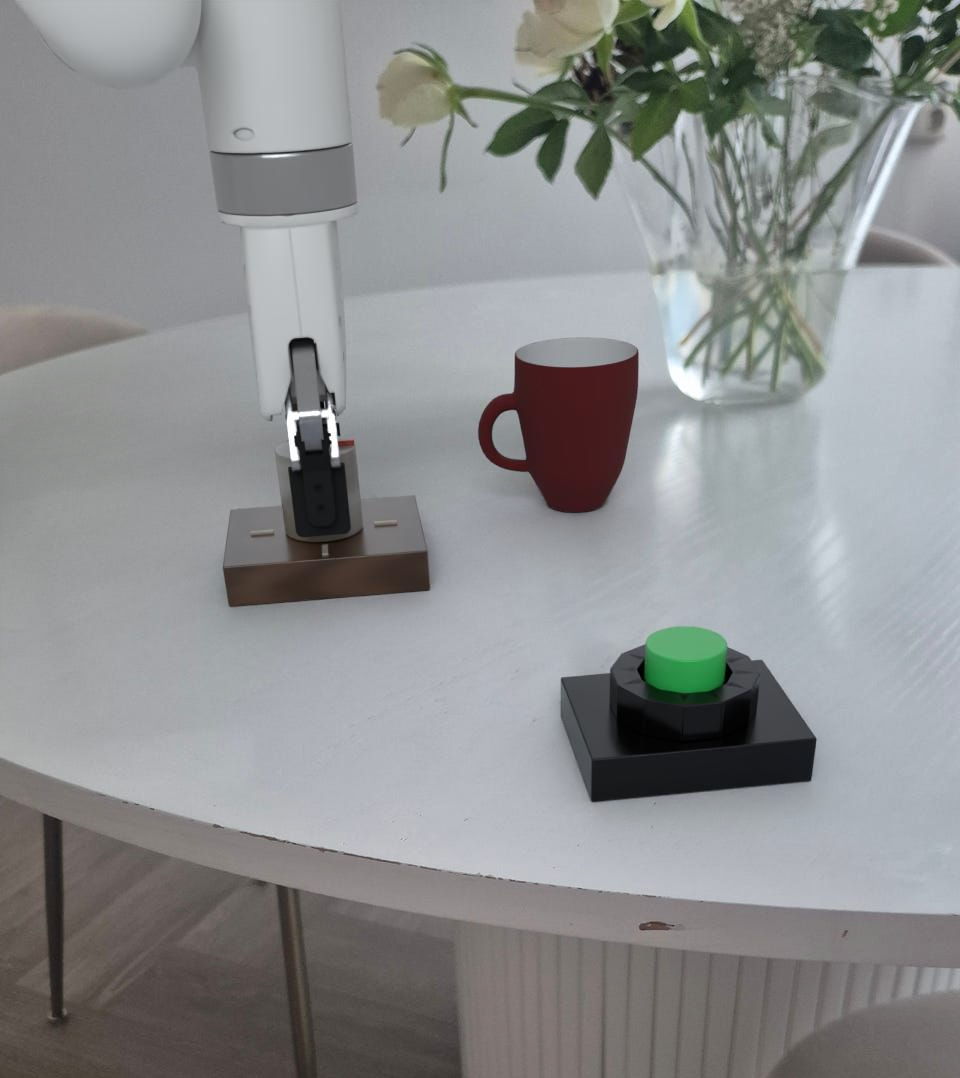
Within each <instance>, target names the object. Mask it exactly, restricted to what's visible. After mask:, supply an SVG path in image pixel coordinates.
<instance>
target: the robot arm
mask: <svg viewBox="0 0 960 1078" xmlns="http://www.w3.org/2000/svg"><path fill="white" fill-rule="evenodd" d="M13 1H14V2H15V4H16V5H17V6H18V7H19V9H20V10H21V11H22V12H23V13H24V15H25V16H26V17H27V18H28V20H29V21H30V22H31V25H32V27H33V29H34V31H35V32H36V34H37V36H38V38H39V39H40V40H41V42H42V43H43V44H44V46H45V47H46V49H48V51H49V52H50V53H51V54H52V55H53V56H55V58H56V59H58V61H59V62H60V63H62V64H63V65H65V66H66V67H67V68H68V69H70V70H72V71H73V72H75V73H76V74H78V75H80V76H81V77H83V78H85V79H86V80H88V81H91V82H93V83H95V84H98V85H101V86H104V87H107V88H111V89H117V90H138V89H142V88H148V87H150V86H153V85H156V84H158V83H160V82H162V81H164V80H165V79H167V78H169V76H171V75H172V74H173V73H175V72H176V71H177V70H180V69H184V68H191V67H195V70H196V72H197V76H198V83H199V90H200V97H201V104H202V112H203V118H204V125H205V132H206V140H207V147H208V150H209V152H208V153H209V161H210V168H211V174H212V182H213V188H214V196H215V201H216V209H217V217H218V222H219V223H221V224H224V225H226V226H233V227H239V237H240V241H239V242H240V253H241V254H240V255H241V267H242V277H243V286H244V295H245V303H246V311H247V319H248V326H249V335H250V342H251V349H252V350H251V351H252V356H253V365H254V373H255V381H256V389H257V398H258V407H259V415H260V417H261V418H262V419H264V420H265V421H267V422H269V423H270V422H273V421H274V420H273V419H274V416H280V415H281V416H282V414H283V411H284V410H285V416H284V418H285V422H286V428H287V429H286V430H287V437H288V440H289V448H290V457H291V465H292V467H288V473H289V481H290V489H291V496H292V504H293V512H294V520H295V528H296V533H297V535H298V536H300V537H312V536H324V535H336V534H346V533H348V532H349V531H350V529H351V523H350V513H349V503H348V493H347V483H346V473H345V464H344V463H340V457H339V447H338V438H337V436H341V427H340V422H337V417H339V416H340V415H341V414H343V413H344V411H345V410H346V409H347V340H346V339H347V336H346V319H345V302H344V301H345V300H344V288H343V274H342V264H341V262H342V261H341V253H340V239H339V229H338V227H339V226H338V221H340V220H345V219H348V218H351V217H353V216H355V215H357V214H359V201H358V192H357V181H356V180H357V179H356V167H355V154H354V146H353V145H354V144H353V133H352V131H353V130H352V129H353V128H352V120H351V108H350V97H349V96H350V95H349V84H348V76H347V75H348V74H347V63H346V51H345V39H344V27H343V26H344V25H343V15H342V2H341V0H13ZM329 448H330V455H329ZM330 461H331V464H330Z"/></svg>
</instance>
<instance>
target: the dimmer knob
mask: <svg viewBox="0 0 960 1078" xmlns="http://www.w3.org/2000/svg"><path fill="white" fill-rule="evenodd" d="M337 438H338V447H339V457H340V463H344V464H345V473H346V483H347V493H348V503H349V513H350V523H351V529H350V531H349V532H348V533H346V534H336V535H324V536H312V537H300V536H298V535H297V533H296V528H295V520H294V512H293V504H292V496H291V489H290V481H289V473H288V467H292V465H291V457H290V448H289V439H288V440H285V441H283V442H281V443H279V444H277V446H275V448H274V456H275V463H276V472H277V479H278V480H277V481H278V487H279V494H280V502H281V506H282V511H283V518H284V526H285V532H286V534H287V535H288V536H289V537H291V538H293V539H296V540H300V541H307V542H326V541H334V540H339V539H343V538H346V537H349V536H352V535H354V534H356V533H357V532H359V531H360V530H361V529H362V527H363V520H362V509H361V491H360V490H361V489H360V479H359V470H358V469H359V467H358V458H357V448H356V447H357V445H356V442H355V437H346V436H341V435H340V436H337ZM329 455H330V448H329ZM330 464H331V461H330Z"/></svg>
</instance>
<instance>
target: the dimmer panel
mask: <svg viewBox="0 0 960 1078" xmlns="http://www.w3.org/2000/svg"><path fill="white" fill-rule="evenodd" d="M360 499H361V498H360ZM361 509H362V520H363V527H362V529H361V530H360V531H359V532H357V533H356V534H354V535H352V536H349V537H346V538H343V539H339V540H334V541H326V542H307V541H300V540H296V539H293V538H291V537H289V536H288V535H287V534H286V532H285V526H284V518H283V511H282V505H271V506H257V507H245V508H244V507H243V508H231V509H230V510H229V516H228V517H229V518H228V526H227V533H226V539H225V548H224V556H223V561H222V572H223V579H224V584H225V591H226V597H227V603H228V607H239V606H241V607H242V606H251V605H263V604H266V605H267V604H277V603H287V602H288V603H290V602H301V601H313V600H321V599H322V600H325V599H336V598H337V599H339V598H348V597H361V596H371V595H372V596H373V595H386V594H398V593H409V592H421V591H430V590H431V583H430V569H429V568H430V566H429V552H428V548H427V543H426V538H425V534H424V530H423V525H422V521H421V516H420V512H419V507H418V504H417V499H416V495H401V496H400V495H399V496H387V497H374V498H362V499H361Z"/></svg>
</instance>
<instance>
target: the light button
mask: <svg viewBox="0 0 960 1078" xmlns="http://www.w3.org/2000/svg"><path fill="white" fill-rule="evenodd" d="M644 645H645V670H644V678H645V681H646V682H647V683H648V684H650V685H652V686H654V687H656V688H658V689H661V690H668V691H674V692H681V693H693V692H704V691H710V690H712V689H715V688H717V687H719V686H721V685H722V684H723V683H724V680H725V668H726V655H727V647H728V642H727V640H726V638H725V637H723V635H721V634H720V633H719V632H718V633H717V632H715V631H713V630H711V629H707V628H704V627H698V626H685V625H683V626H681V625H680V626H671V627H665V628H662V629H659V630H656V631H655V632H653V633H651V634H650V635H649V636H648V637H647V638H646V640H645V643H644Z"/></svg>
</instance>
